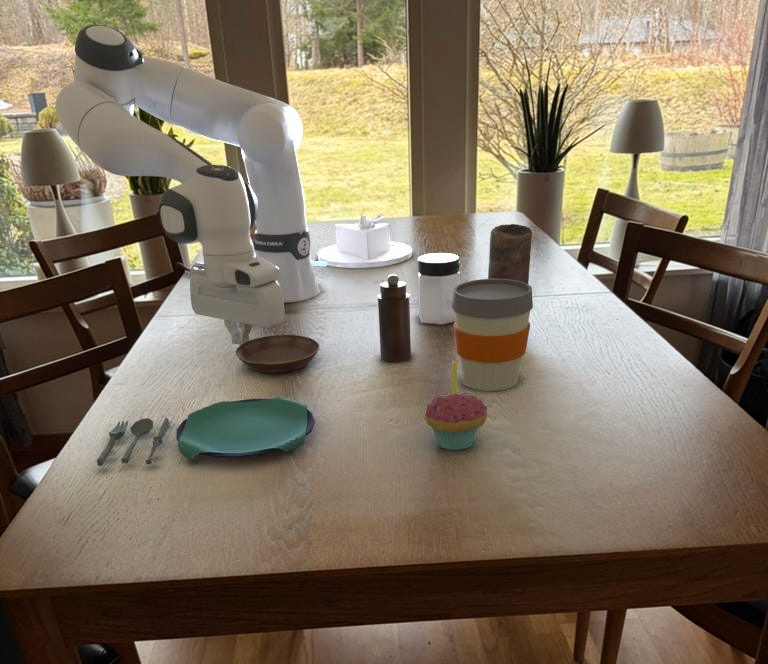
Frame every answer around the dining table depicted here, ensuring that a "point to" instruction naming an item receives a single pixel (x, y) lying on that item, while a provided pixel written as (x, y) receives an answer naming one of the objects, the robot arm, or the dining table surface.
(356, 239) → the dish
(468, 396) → the cupcake
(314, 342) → the saucer
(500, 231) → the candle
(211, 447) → the cutlery set
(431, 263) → the jar
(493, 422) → the dining table surface
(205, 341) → the dining table surface
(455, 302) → the reusable coffee cup
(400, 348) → the pepper mill
